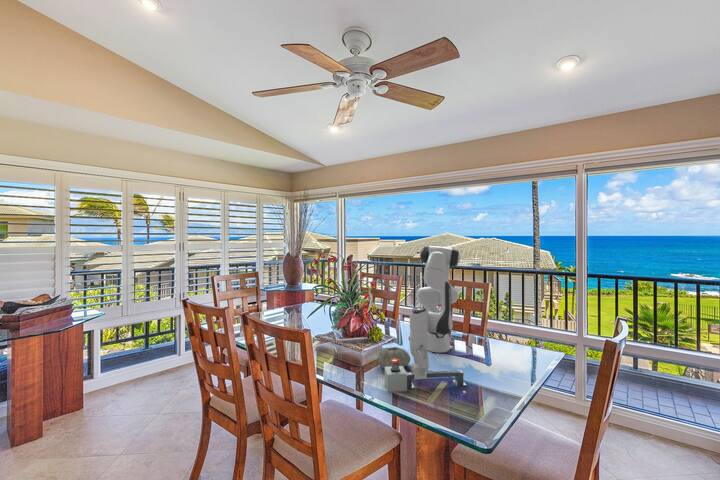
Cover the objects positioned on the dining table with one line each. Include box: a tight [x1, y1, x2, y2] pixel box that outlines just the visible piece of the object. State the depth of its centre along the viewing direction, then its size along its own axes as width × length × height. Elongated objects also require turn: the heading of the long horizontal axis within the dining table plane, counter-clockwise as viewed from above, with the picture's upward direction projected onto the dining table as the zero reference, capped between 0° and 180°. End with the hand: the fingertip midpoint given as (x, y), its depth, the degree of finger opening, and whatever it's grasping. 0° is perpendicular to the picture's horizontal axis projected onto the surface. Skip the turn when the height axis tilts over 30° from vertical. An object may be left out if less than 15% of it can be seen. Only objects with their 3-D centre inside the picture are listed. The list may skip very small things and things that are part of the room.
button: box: [391, 358, 400, 372], centre depth 153 cm, size 4×4×7 cm
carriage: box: [411, 362, 428, 380], centre depth 154 cm, size 5×6×6 cm
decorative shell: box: [377, 346, 411, 369], centre depth 177 cm, size 18×18×10 cm
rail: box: [406, 369, 468, 390], centre depth 155 cm, size 6×30×6 cm, turn 94°
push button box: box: [384, 366, 408, 393], centre depth 153 cm, size 9×9×8 cm
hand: (419, 370), depth 154 cm, fingers open, 8 cm apart
